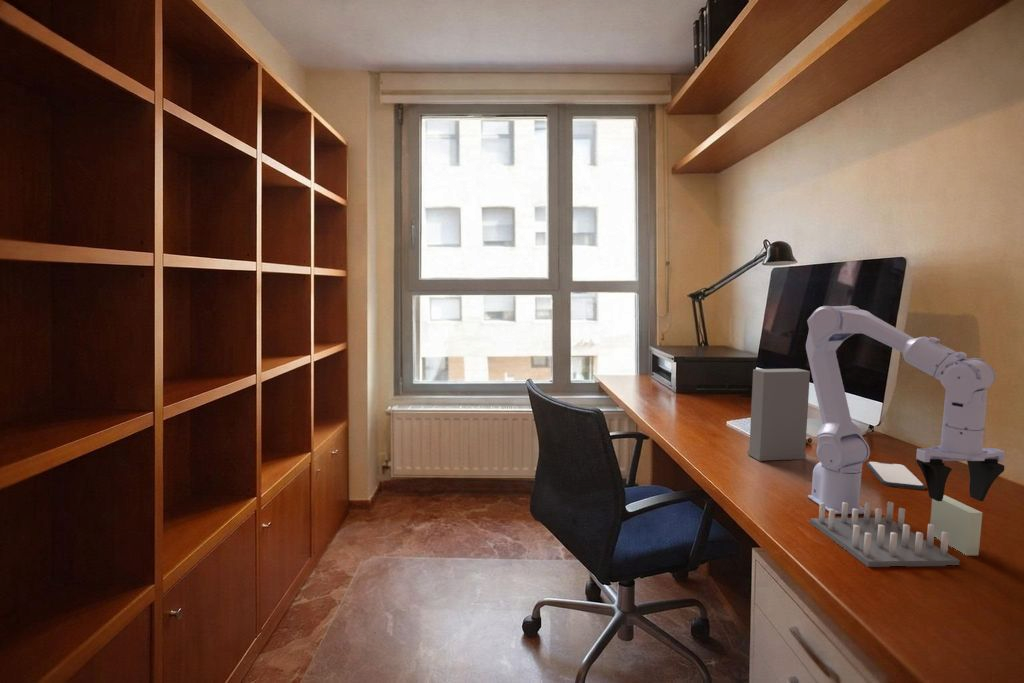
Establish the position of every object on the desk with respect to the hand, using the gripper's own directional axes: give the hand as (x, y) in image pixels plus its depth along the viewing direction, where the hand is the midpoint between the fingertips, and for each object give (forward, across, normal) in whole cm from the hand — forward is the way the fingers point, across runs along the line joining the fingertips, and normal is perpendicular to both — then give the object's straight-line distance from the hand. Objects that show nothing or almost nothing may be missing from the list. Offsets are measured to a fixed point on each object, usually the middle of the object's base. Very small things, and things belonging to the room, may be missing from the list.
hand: (956, 499), depth 96 cm
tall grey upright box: (+10, -6, +52) cm, 54 cm away
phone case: (+10, +17, +37) cm, 42 cm away
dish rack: (+10, -12, +2) cm, 15 cm away
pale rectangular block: (+10, +2, +2) cm, 10 cm away
